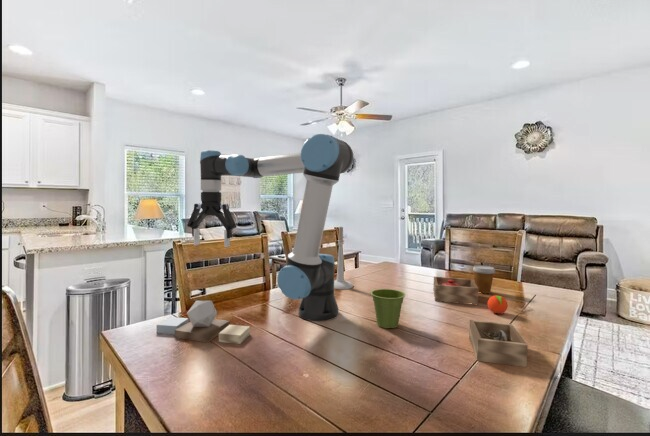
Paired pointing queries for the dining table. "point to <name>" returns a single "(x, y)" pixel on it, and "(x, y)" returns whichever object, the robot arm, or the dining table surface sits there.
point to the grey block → (171, 325)
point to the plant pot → (387, 306)
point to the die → (202, 313)
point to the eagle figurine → (501, 335)
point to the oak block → (234, 334)
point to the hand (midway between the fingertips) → (211, 245)
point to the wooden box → (455, 290)
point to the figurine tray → (497, 344)
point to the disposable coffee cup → (483, 277)
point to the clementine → (497, 304)
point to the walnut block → (201, 331)
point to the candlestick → (341, 266)
